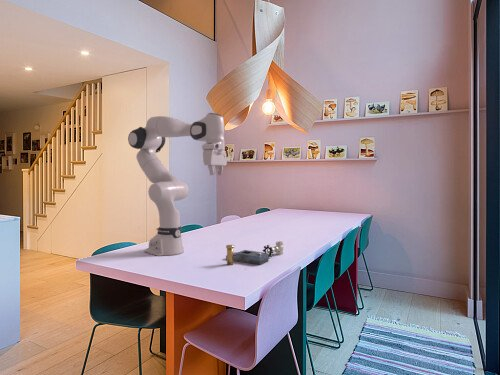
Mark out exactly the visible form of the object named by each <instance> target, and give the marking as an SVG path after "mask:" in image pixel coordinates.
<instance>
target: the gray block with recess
mask: <svg viewBox="0 0 500 375" xmlns="http://www.w3.org/2000/svg"><path fill="white" fill-rule="evenodd" d="M268 254H269V253H267V252H266V253H265V252H263V251H262V252H261V251H254V250H247V249H244V250H240V251H238V252H233V262H239V263H245V264H251V265H257V266H262V265H264V264H266V263H268V262H269V258H268ZM225 260H226V261H227V254H226V255H225Z"/></svg>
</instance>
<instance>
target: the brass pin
mask: <svg viewBox="0 0 500 375" xmlns="http://www.w3.org/2000/svg"><path fill="white" fill-rule="evenodd" d="M225 248H226V255H227V260H226V265H228V266H233V265H234V261H233V253H234V249H235V245H234V244H227V245H225Z"/></svg>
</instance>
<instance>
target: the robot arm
mask: <svg viewBox="0 0 500 375" xmlns="http://www.w3.org/2000/svg"><path fill="white" fill-rule="evenodd" d="M224 121H225V120H224V116H223V115H221V114H219V113H214V112H208V113H207V114H206V115H205V116H204V117H203V118H202V119H200V120H197V121H194V122H192V124H191V123H188V122H185V121H181V120H179V119H176V118H174V117H170V116H166V115H165V116H163V115H162V116H161V115H159V116H152V117H150V118H148V119H147V121H146V124H145V127H142V126H139V127H137V128H136V129H133V130H131V131H130V132H129V134H128V138H127V140H128V144H129V146H130V147H131V148H133V149H137V150H139V151H138V152H137V153H136V160H137V163H138V165H139V167H140V169H141V170H142V172H143V173H144V175H145V177H146V178H147V180H149V182H150V183H152V184H150V185H149V188H148V193H147V194H148V197H149V199H150V201H152V202H153V203H154V204H155V206H156V209H157V211H158V217H159V221H158V222H159V227H156V228H155V229H156V231H157V233H156V234H155V235H154V236H153V237H152V238H151V239H149V241H148V248H145V249H144V250H143V251H144V253H148V254H151V255H154V256H157V257H159V256H160V257H162V256H174V255H179V254H182V253H184V252H185V251H184V246H183V239H182V235H181V233H182V226H181V213H180V211H179V209H177V208H176V206H175V203H174V202H177V201H182V200H184V199H186V198H187V197H188V196H189V192H190V189H189V186H188V184H187V183H185V181H182V180H180V179H178V178H177V177H176V176H175V175H173V173H171V172H170V171H169V170H168V169H167V168H166V166H165V165H164V164H163V163H162V161H161V159H159V157H158V155H157V153H160V151H161V149H163V147H164V146H165V144H166V138H180V137H191V138H192V139H193V140H195V141H199V142H205V143H203V144H202V146H201V150H203V151H202V158H203V164H204V166H207V168H208V170H209V176H214V175H215V171H214V170H215V169H214V167H218V171H217V175H218V176H222V175H223V170H224V167H226V166H227V165H228V161H227V160H228V158H227V153H226V151H225V146H226V143H225V137H224V136H225V135H224V134H225V122H224Z"/></svg>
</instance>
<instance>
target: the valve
mask: <svg viewBox="0 0 500 375" xmlns="http://www.w3.org/2000/svg"><path fill="white" fill-rule="evenodd" d="M275 245H276V246H273V247H272V246H270V244H267V245H264V246H263V248H264V249H262V252H263V253H268V259H269V258H272V257H273V254H274V253H275V255H278V256H282V255H284V242H283V241H276V242H275Z"/></svg>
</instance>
